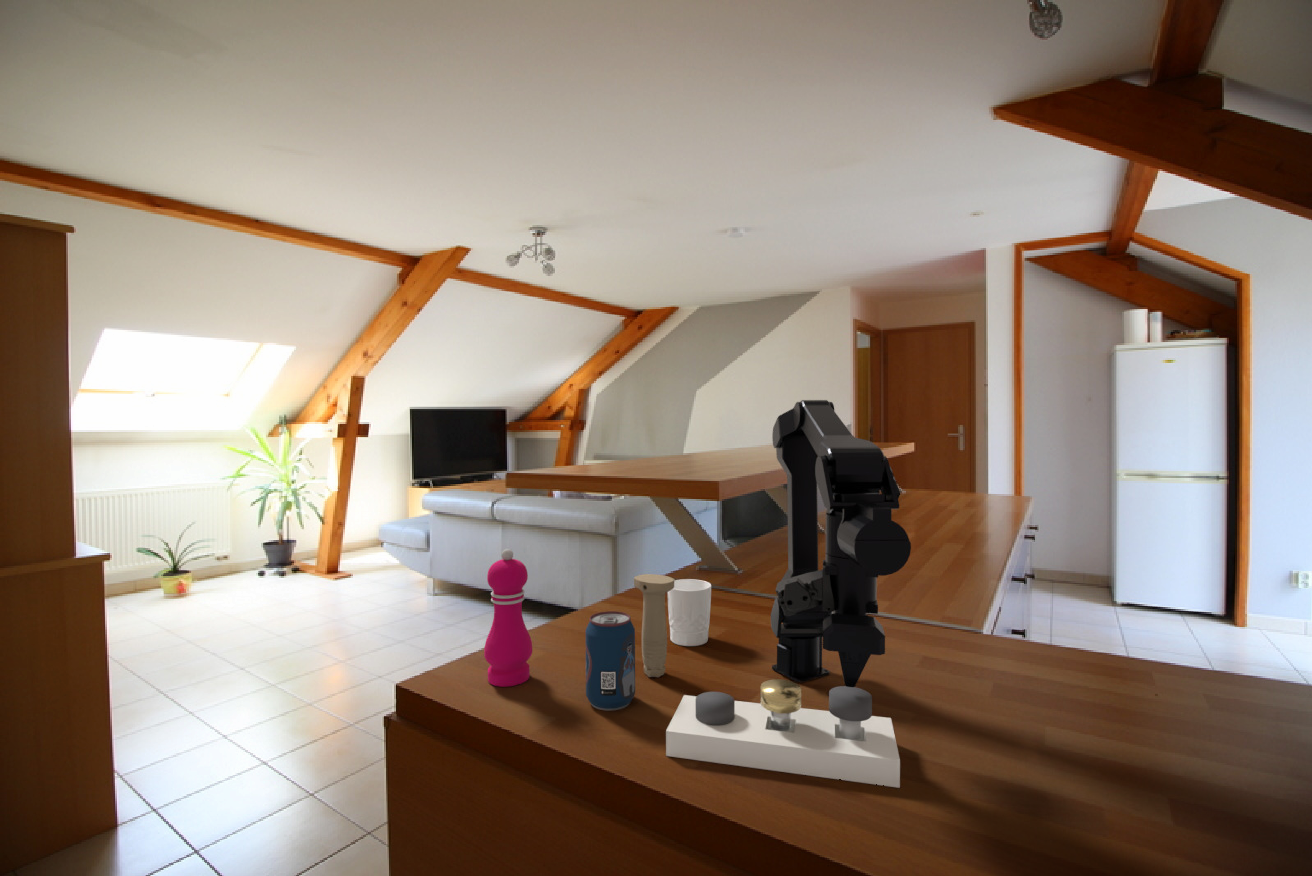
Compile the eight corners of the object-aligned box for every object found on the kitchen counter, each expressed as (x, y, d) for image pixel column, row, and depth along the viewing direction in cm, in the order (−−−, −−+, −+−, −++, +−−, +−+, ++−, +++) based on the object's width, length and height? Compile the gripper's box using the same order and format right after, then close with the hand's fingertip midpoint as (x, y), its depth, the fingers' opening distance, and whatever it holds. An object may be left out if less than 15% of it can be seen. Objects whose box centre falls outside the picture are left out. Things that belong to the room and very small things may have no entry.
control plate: (890, 742, 79) (890, 718, 79) (899, 787, 69) (899, 760, 69) (684, 717, 86) (684, 695, 86) (666, 755, 76) (666, 730, 76)
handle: (662, 684, 96) (661, 585, 95) (628, 674, 100) (628, 578, 99) (680, 674, 100) (680, 578, 99) (647, 664, 104) (646, 572, 103)
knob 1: (736, 730, 81) (736, 694, 81) (731, 749, 77) (731, 711, 76) (699, 725, 82) (699, 689, 82) (692, 744, 78) (692, 706, 78)
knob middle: (801, 719, 79) (802, 681, 79) (800, 738, 74) (800, 698, 74) (762, 714, 80) (762, 677, 80) (758, 733, 76) (758, 693, 76)
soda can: (589, 690, 94) (588, 609, 94) (636, 691, 94) (636, 609, 93) (582, 712, 87) (581, 625, 87) (633, 713, 87) (633, 625, 86)
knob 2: (870, 727, 77) (870, 688, 77) (872, 747, 72) (873, 706, 72) (828, 722, 78) (828, 684, 78) (828, 741, 74) (829, 701, 73)
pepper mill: (542, 673, 100) (540, 546, 99) (513, 692, 94) (511, 556, 93) (504, 666, 103) (503, 542, 102) (474, 683, 97) (472, 551, 96)
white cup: (660, 644, 113) (660, 588, 112) (676, 630, 120) (676, 577, 120) (703, 650, 110) (703, 592, 110) (716, 635, 117) (716, 581, 117)
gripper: (785, 535, 86) (784, 650, 86) (774, 568, 68) (773, 714, 68) (873, 539, 83) (872, 658, 83) (886, 575, 65) (884, 727, 65)
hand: (849, 685), depth 75 cm, fingers closed
